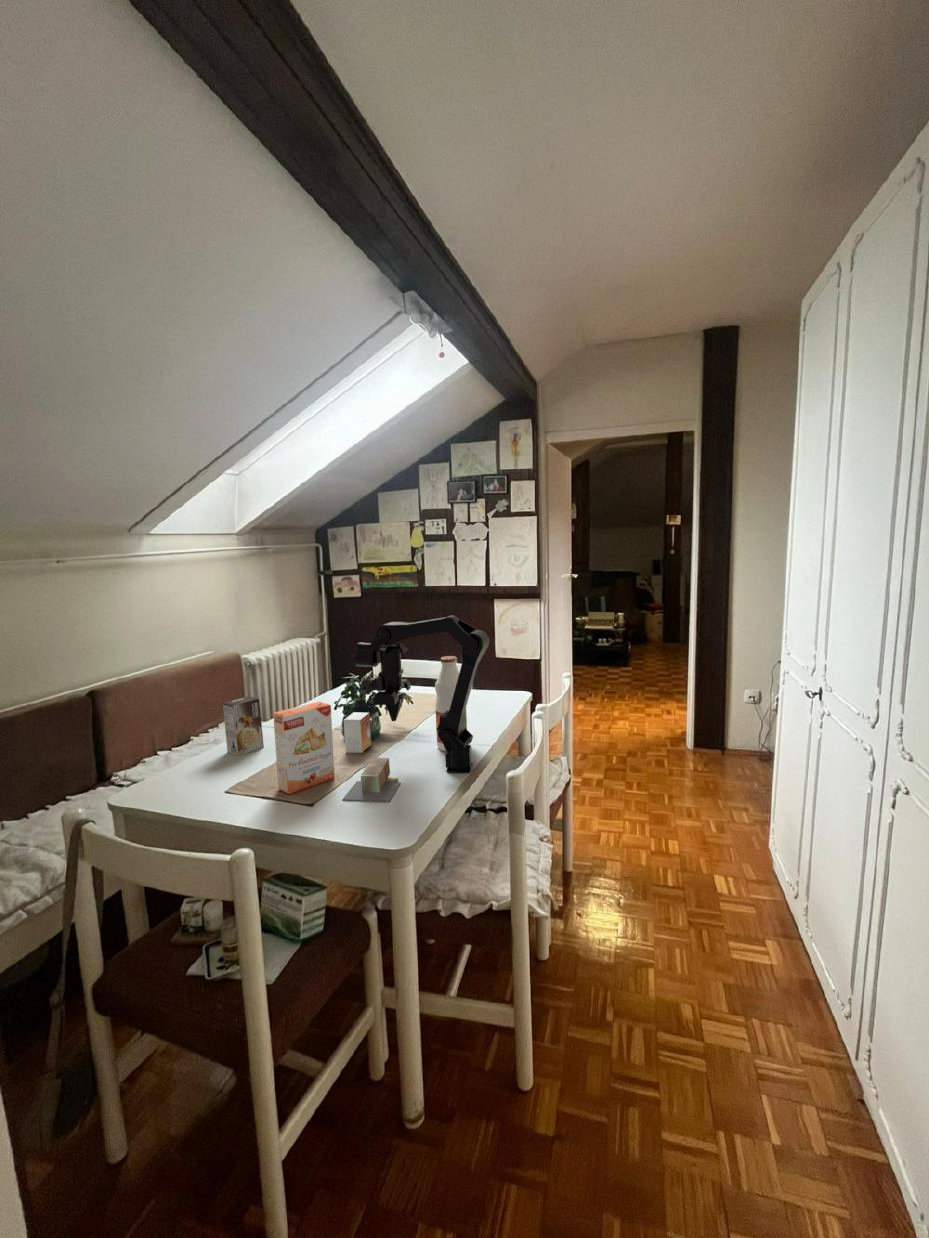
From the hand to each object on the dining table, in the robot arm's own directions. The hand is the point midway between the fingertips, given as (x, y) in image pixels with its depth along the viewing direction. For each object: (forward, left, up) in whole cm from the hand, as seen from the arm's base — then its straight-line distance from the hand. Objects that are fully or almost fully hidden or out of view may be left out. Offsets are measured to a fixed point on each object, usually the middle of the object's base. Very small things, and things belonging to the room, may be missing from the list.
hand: (393, 720), depth 166 cm
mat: (+1, +19, -12) cm, 23 cm away
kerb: (+1, +13, -12) cm, 18 cm away
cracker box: (+20, +16, -13) cm, 29 cm away
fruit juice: (-14, -14, -13) cm, 24 cm away
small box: (+15, -11, -13) cm, 23 cm away
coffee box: (+51, -8, -13) cm, 53 cm away
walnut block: (+1, +11, -9) cm, 14 cm away
